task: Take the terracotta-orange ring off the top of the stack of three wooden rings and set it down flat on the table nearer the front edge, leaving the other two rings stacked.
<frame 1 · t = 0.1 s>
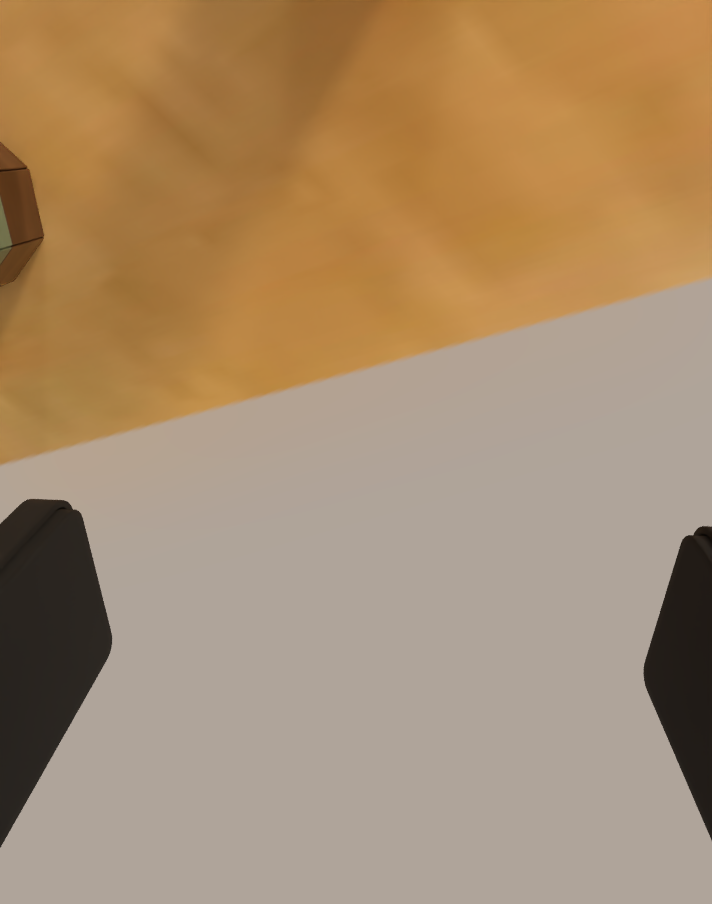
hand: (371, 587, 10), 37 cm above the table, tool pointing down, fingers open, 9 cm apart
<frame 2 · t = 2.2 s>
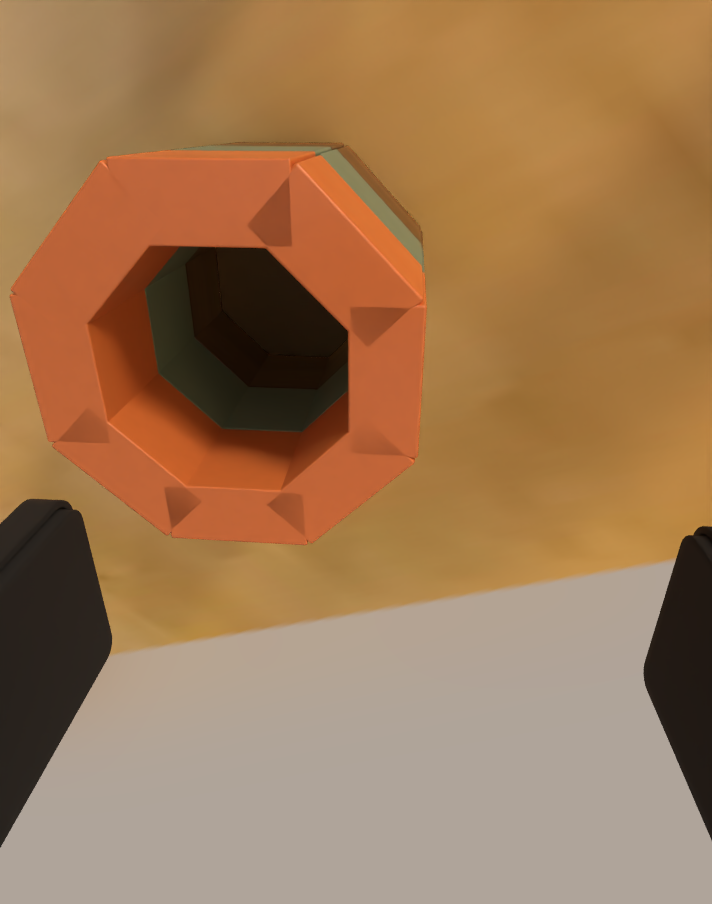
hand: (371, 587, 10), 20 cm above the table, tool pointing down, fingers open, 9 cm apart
ring bottom: (296, 280, 27), on the table, touching ring middle
ring top: (254, 335, 20), point 8 cm above the table, touching ring middle
ring middle: (278, 303, 24), point 4 cm above the table, touching ring bottom, ring top
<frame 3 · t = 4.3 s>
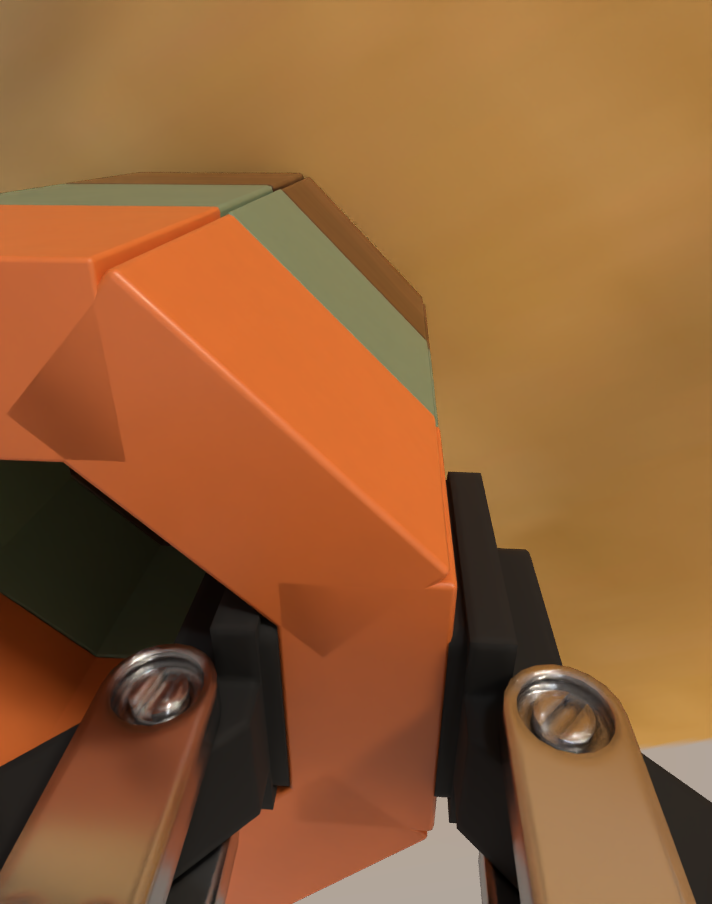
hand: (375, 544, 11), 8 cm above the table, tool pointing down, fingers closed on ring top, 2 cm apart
ring bottom: (238, 372, 18), on the table, touching ring middle
ring top: (134, 522, 11), point 8 cm above the table, touching gripper
ring middle: (198, 429, 15), point 4 cm above the table, touching ring bottom
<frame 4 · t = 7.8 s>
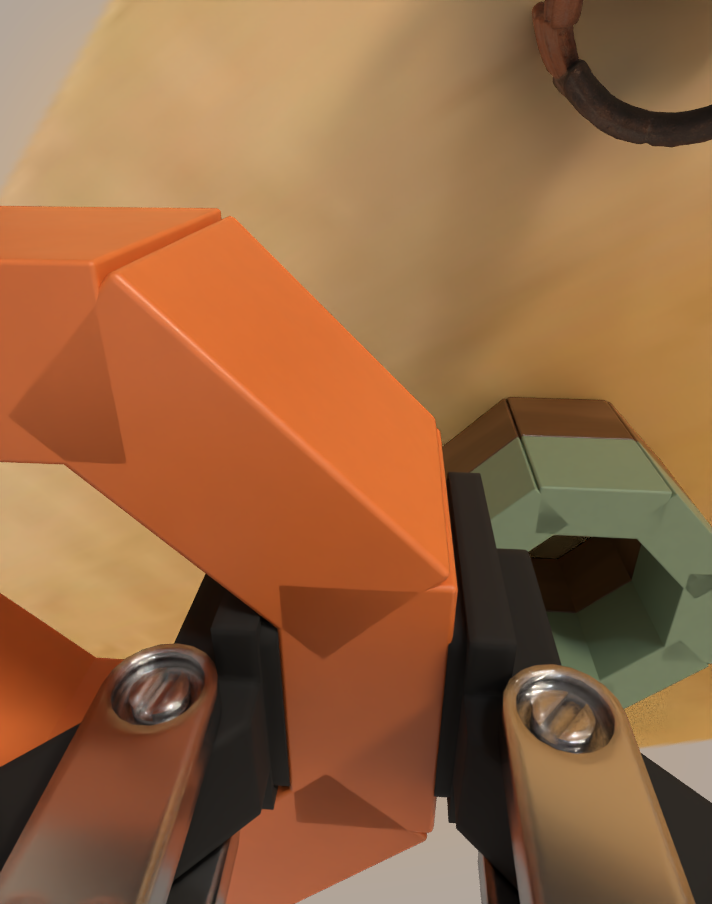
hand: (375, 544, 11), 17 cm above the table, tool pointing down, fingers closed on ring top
ring bottom: (539, 500, 30), on the table, touching ring middle
ring top: (135, 523, 11), point 17 cm above the table, touching gripper
ring middle: (556, 549, 27), point 4 cm above the table, touching ring bottom
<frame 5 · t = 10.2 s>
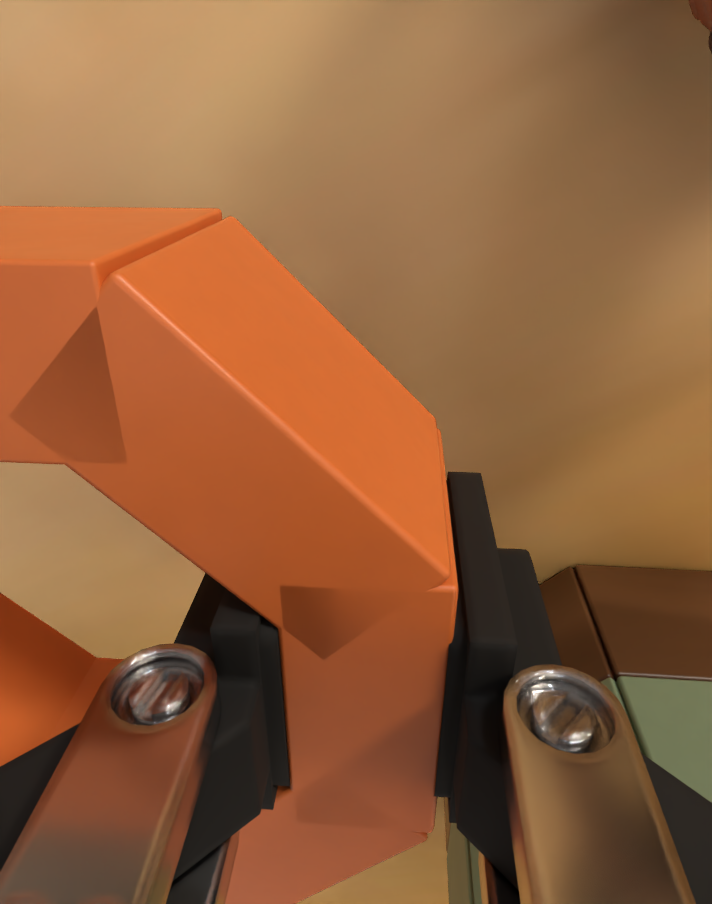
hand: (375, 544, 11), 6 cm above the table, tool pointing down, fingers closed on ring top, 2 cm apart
ring bottom: (615, 702, 20), on the table, touching ring middle
ring top: (135, 523, 11), point 5 cm above the table, touching gripper
ring middle: (660, 826, 16), point 4 cm above the table, touching ring bottom
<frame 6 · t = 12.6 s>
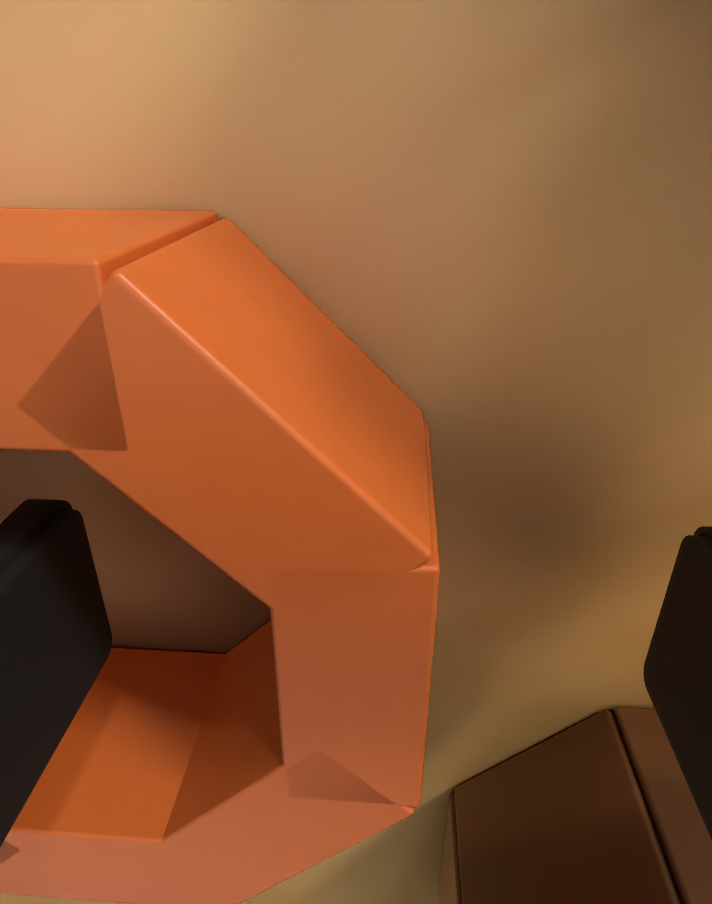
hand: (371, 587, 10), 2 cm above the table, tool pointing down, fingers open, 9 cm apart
ring bottom: (659, 858, 16), on the table, touching ring middle
ring top: (134, 515, 12), on the table
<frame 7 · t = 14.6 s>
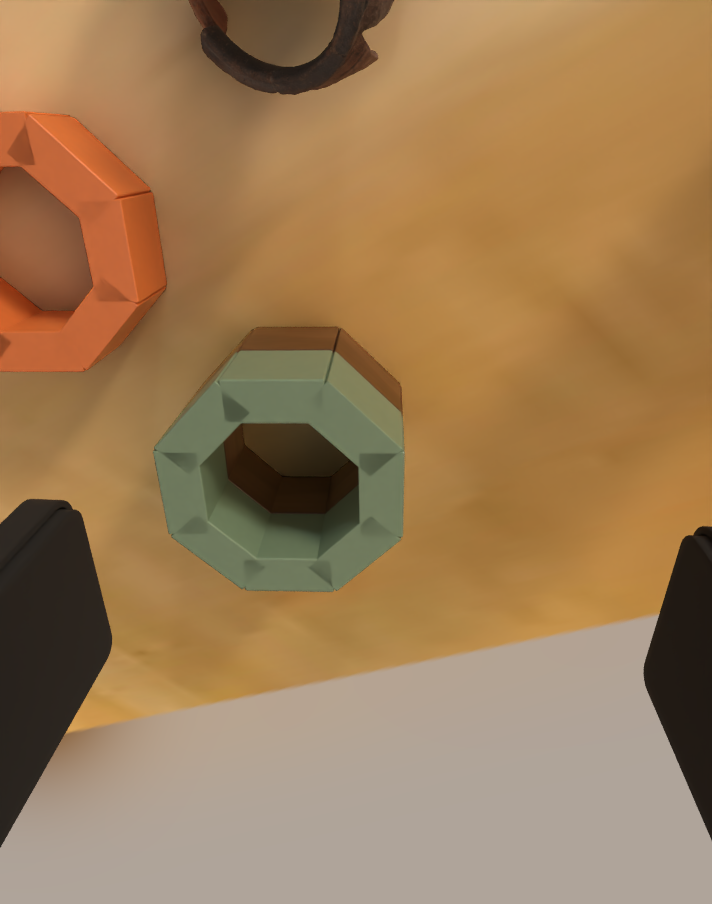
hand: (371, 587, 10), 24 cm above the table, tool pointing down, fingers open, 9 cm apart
ring bottom: (303, 422, 34), on the table, touching ring middle
ring top: (53, 241, 31), on the table
ring middle: (293, 454, 31), point 4 cm above the table, touching ring bottom
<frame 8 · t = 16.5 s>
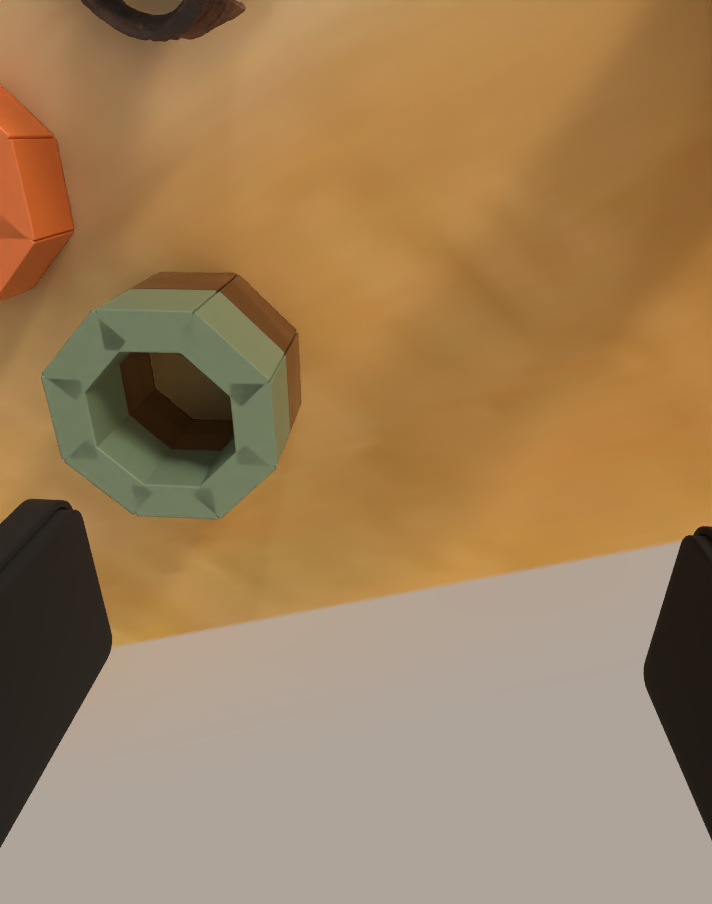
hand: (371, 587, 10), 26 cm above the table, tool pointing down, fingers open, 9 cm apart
ring bottom: (208, 366, 36), on the table, touching ring middle
ring middle: (187, 391, 33), point 4 cm above the table, touching ring bottom
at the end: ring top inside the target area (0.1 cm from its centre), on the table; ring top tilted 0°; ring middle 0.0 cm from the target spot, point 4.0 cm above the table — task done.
